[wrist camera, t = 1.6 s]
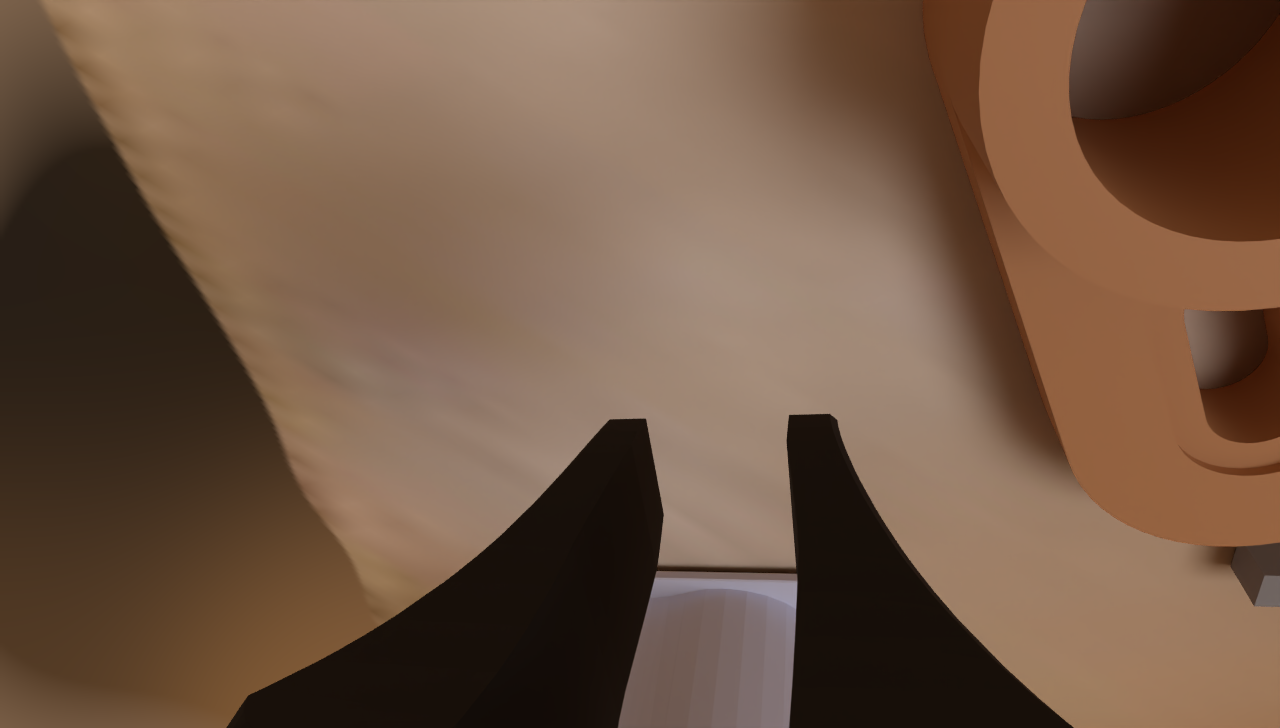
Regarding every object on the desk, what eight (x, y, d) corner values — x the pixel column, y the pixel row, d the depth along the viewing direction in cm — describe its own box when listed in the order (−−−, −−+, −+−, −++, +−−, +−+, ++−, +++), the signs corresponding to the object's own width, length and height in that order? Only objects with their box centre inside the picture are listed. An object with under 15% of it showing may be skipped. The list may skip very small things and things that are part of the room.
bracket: (867, -128, 16) (901, -118, 11) (1363, -404, 13) (1799, -605, 7) (1076, 505, 24) (1163, 715, 18) (1426, 426, 20) (1669, 650, 15)
